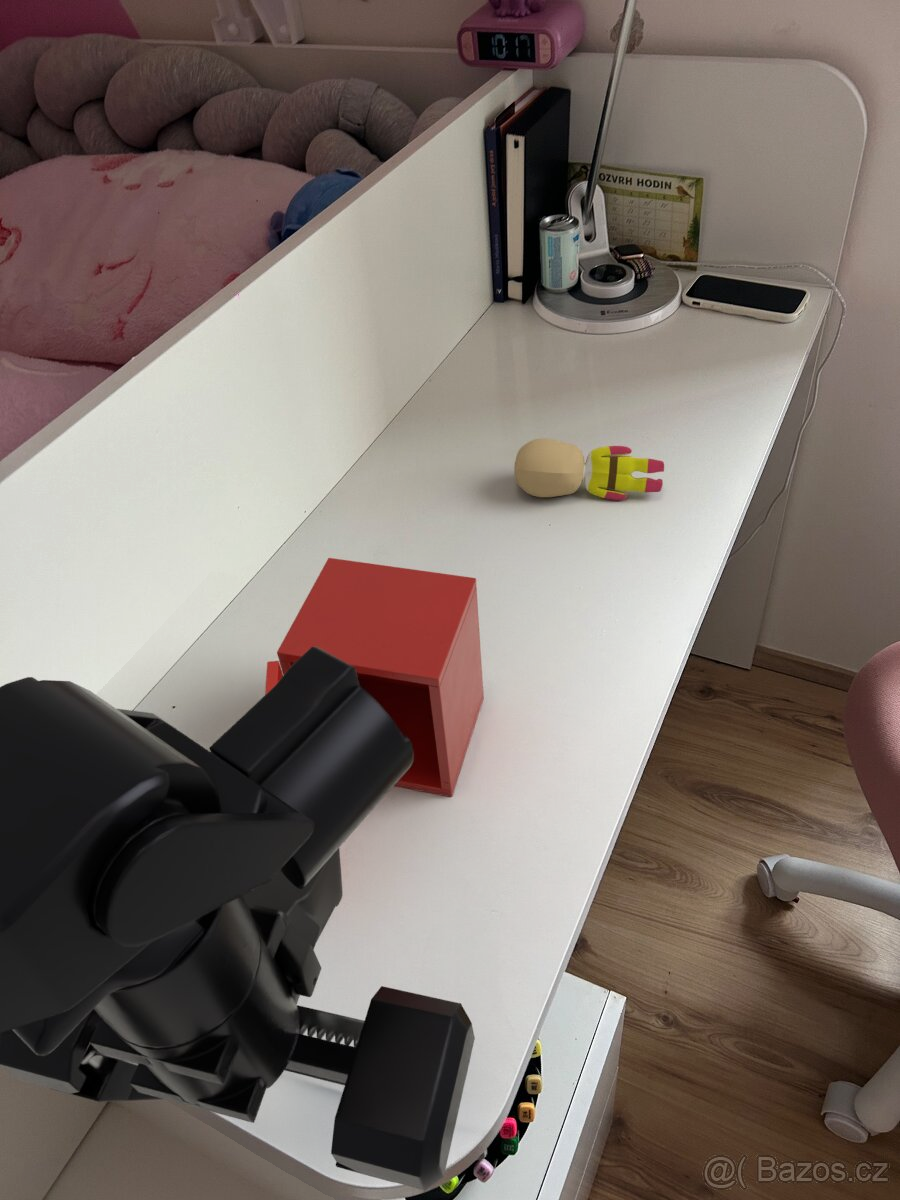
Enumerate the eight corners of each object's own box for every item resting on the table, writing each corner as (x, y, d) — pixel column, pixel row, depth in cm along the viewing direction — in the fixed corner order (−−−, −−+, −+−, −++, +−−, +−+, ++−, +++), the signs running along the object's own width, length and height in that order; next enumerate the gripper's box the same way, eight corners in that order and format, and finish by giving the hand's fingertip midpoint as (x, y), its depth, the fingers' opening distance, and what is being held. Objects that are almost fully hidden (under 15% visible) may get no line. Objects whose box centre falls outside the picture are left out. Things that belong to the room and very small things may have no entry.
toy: (665, 443, 95) (521, 433, 98) (667, 450, 88) (512, 439, 91) (659, 501, 97) (517, 489, 99) (660, 511, 90) (507, 499, 92)
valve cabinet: (452, 797, 70) (438, 679, 61) (310, 769, 73) (276, 652, 63) (484, 697, 77) (476, 577, 67) (353, 675, 80) (328, 557, 70)
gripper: (491, 809, 35) (511, 980, 46) (69, 739, 40) (178, 910, 51) (411, 1124, 28) (457, 1239, 39) (-98, 994, 32) (72, 1130, 43)
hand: (280, 1108), depth 43 cm, fingers open, 9 cm apart
